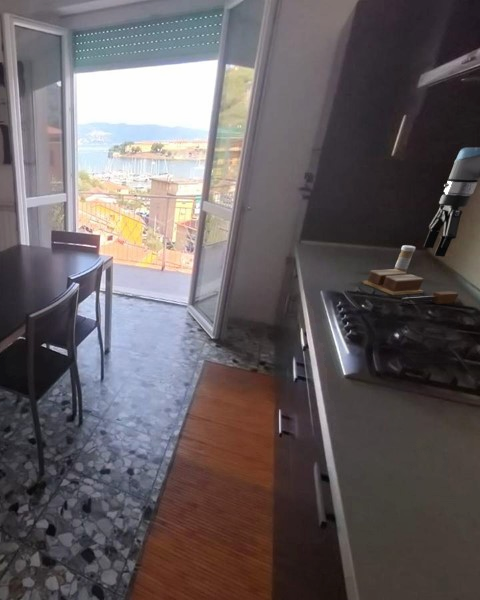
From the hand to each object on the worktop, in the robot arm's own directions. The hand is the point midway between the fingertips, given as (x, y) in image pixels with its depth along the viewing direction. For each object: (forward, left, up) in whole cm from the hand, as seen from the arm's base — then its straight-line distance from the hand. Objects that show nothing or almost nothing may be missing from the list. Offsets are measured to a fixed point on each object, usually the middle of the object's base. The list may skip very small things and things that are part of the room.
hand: (433, 251), depth 136 cm
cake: (+8, +3, -18) cm, 20 cm away
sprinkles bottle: (+22, -16, -18) cm, 33 cm away
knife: (-8, +5, -18) cm, 20 cm away
